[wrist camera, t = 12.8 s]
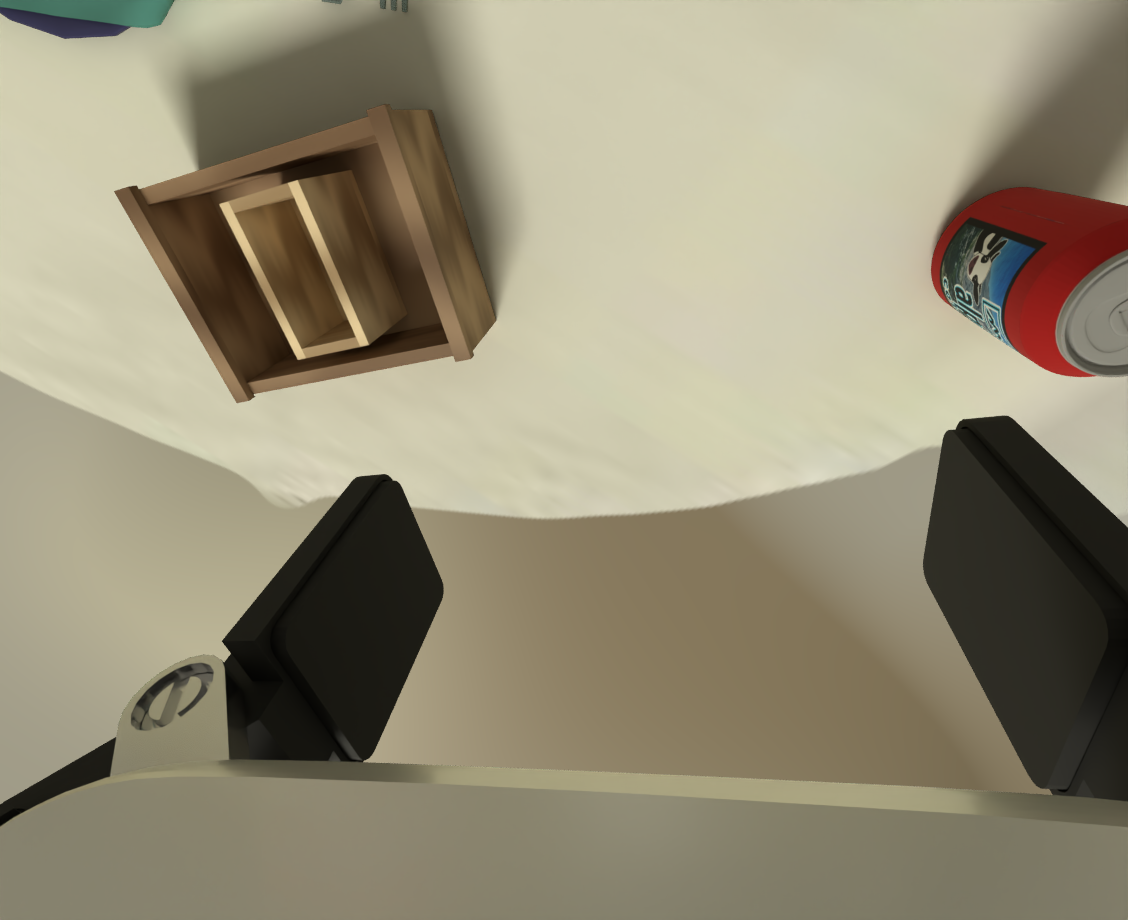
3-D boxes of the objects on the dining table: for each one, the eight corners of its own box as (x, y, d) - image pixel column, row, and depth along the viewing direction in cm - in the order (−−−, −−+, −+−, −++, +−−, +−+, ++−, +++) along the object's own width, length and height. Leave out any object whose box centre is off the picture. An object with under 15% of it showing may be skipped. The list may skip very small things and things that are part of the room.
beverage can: (903, 242, 32) (1012, 302, 22) (1032, 155, 29) (1227, 178, 19) (955, 331, 35) (1076, 422, 24) (1081, 257, 32) (1278, 326, 21)
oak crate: (282, 190, 35) (218, 204, 30) (351, 169, 34) (297, 180, 29) (344, 328, 40) (297, 359, 34) (407, 314, 38) (369, 344, 33)
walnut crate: (197, 179, 36) (114, 191, 31) (432, 105, 32) (384, 104, 27) (291, 365, 43) (236, 402, 37) (498, 323, 39) (471, 358, 33)
